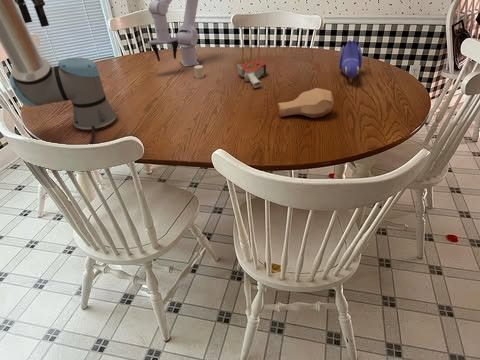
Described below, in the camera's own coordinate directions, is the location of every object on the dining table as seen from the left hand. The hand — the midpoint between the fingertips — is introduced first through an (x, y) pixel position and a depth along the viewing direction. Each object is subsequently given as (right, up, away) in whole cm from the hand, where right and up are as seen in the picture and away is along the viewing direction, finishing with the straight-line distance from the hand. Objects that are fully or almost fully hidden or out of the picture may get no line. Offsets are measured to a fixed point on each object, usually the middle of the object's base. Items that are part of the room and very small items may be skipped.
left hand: (36, 24), depth 138 cm
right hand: (+44, -3, +31) cm, 54 cm away
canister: (+60, -12, +29) cm, 68 cm away
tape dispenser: (+85, -15, +22) cm, 89 cm away
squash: (+103, -37, -9) cm, 110 cm away
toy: (+128, -15, +18) cm, 130 cm away
